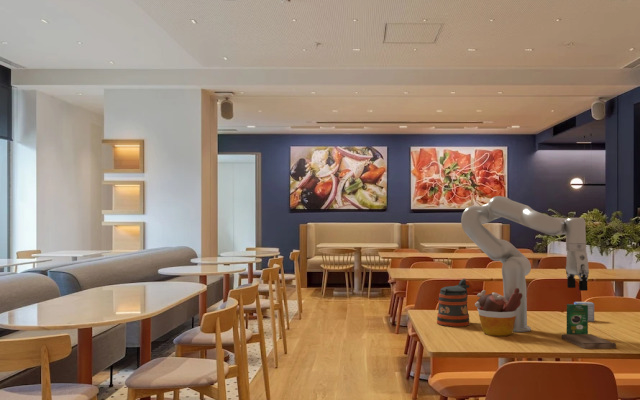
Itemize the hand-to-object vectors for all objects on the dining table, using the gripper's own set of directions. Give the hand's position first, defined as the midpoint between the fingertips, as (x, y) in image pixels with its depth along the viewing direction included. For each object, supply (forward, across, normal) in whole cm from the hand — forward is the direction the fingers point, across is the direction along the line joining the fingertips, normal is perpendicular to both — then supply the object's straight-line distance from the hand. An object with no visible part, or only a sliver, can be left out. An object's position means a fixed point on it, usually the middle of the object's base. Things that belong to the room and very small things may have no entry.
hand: (577, 289), depth 231 cm
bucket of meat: (+19, +6, +31) cm, 37 cm away
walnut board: (+19, -13, +3) cm, 23 cm away
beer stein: (+19, +31, +42) cm, 56 cm away
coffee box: (+20, 0, 0) cm, 20 cm away
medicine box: (+20, +35, -21) cm, 45 cm away
